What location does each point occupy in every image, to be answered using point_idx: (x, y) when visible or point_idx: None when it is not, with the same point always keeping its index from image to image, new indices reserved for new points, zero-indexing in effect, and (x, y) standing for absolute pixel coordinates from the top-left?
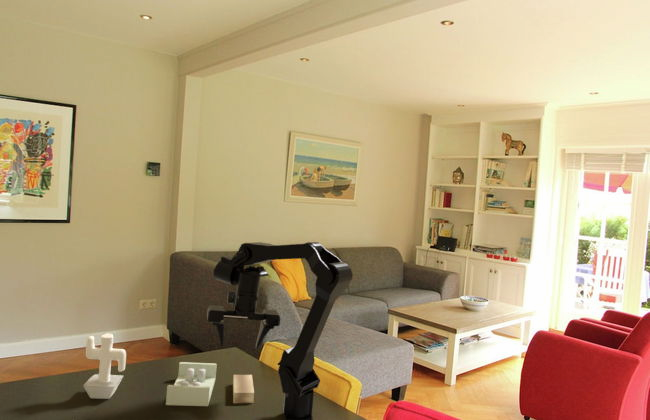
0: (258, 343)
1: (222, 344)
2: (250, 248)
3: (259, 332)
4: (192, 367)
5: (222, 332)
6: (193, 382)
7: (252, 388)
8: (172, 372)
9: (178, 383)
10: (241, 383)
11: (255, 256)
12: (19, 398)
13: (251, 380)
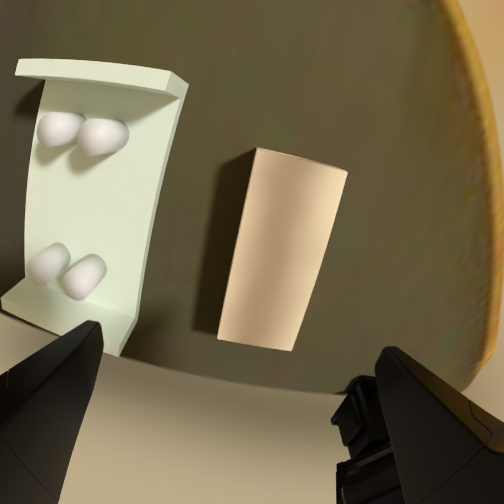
0: (390, 414)
1: (95, 367)
2: None
3: (441, 453)
4: (67, 78)
5: (54, 482)
6: (63, 278)
7: (298, 317)
8: (50, 16)
9: (40, 155)
10: (268, 263)
11: None
12: None
13: (323, 239)
